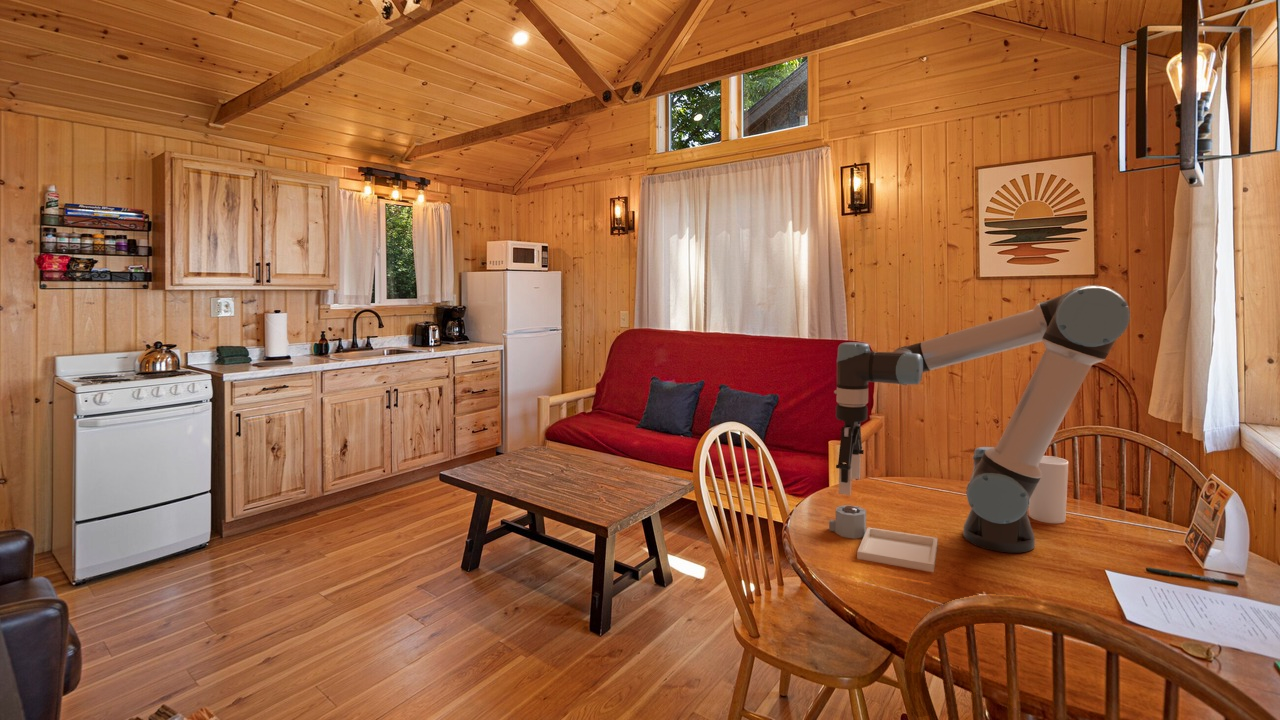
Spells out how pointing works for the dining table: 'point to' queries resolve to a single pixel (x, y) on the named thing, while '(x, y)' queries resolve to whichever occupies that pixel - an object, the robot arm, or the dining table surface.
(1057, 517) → the cup
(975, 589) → the dining table surface
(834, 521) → the grey socket block
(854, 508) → the post
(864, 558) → the tray
